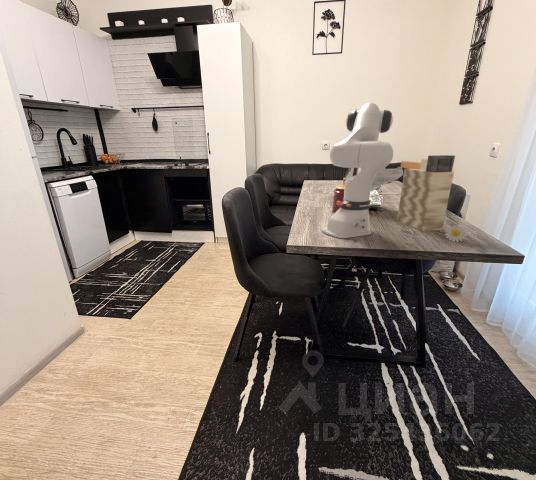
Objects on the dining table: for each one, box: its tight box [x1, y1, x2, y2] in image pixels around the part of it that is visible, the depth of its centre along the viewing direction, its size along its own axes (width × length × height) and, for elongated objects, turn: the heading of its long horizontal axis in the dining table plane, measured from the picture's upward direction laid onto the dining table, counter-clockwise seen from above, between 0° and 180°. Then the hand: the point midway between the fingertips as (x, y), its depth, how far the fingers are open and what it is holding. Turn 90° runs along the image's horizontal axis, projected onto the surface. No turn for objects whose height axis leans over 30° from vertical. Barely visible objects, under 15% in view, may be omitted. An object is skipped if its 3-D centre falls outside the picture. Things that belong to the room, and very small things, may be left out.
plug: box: [400, 158, 428, 171], centre depth 132 cm, size 24×6×5 cm, turn 11°
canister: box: [331, 180, 346, 213], centre depth 161 cm, size 13×13×18 cm
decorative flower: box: [437, 224, 468, 243], centre depth 119 cm, size 8×6×15 cm
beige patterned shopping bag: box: [396, 154, 456, 232], centre depth 131 cm, size 19×10×33 cm, turn 11°
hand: (392, 168), depth 153 cm, fingers open, 8 cm apart
